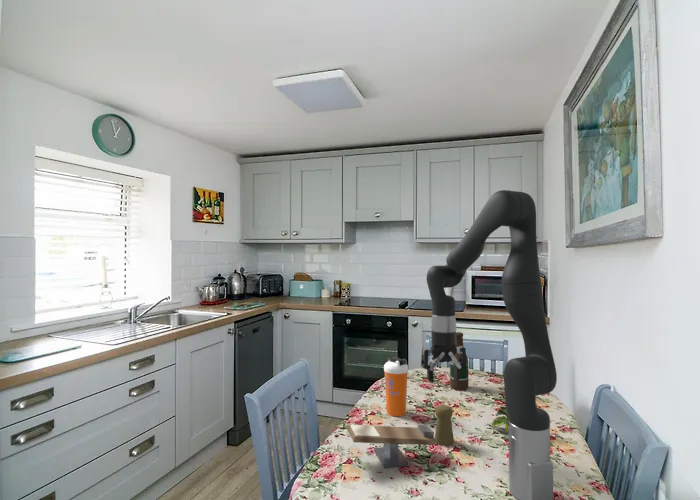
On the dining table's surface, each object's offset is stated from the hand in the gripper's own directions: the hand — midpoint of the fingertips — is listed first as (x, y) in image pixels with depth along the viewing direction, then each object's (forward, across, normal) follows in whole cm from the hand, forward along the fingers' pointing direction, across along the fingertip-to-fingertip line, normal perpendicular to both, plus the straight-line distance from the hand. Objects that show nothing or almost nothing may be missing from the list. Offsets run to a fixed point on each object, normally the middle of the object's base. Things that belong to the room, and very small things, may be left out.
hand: (443, 380), depth 126 cm
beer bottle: (+19, +29, +45) cm, 57 cm away
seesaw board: (+13, -20, -6) cm, 24 cm away
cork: (+19, 0, 0) cm, 19 cm away
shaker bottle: (+19, -7, +25) cm, 32 cm away
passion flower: (+19, +25, +1) cm, 31 cm away
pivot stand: (+19, -20, -6) cm, 28 cm away
